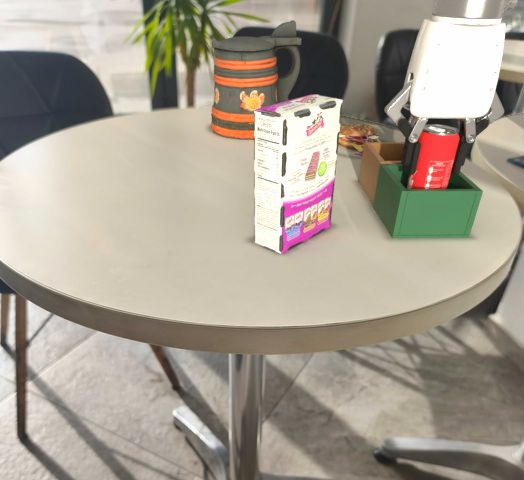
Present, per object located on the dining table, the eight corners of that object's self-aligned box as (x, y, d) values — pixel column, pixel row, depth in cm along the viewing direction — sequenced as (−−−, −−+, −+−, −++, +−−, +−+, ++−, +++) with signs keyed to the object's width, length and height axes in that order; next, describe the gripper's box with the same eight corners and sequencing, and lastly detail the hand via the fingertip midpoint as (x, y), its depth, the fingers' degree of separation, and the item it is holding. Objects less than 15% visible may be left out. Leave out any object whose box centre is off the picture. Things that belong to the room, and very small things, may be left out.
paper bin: (416, 184, 83) (426, 142, 79) (437, 207, 76) (449, 162, 71) (358, 184, 83) (364, 141, 79) (372, 208, 75) (380, 162, 71)
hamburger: (309, 147, 98) (311, 115, 95) (352, 135, 106) (356, 105, 102) (365, 165, 91) (371, 130, 87) (408, 151, 98) (415, 118, 95)
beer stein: (280, 118, 116) (284, 16, 104) (308, 135, 106) (317, 23, 93) (202, 124, 110) (197, 16, 98) (224, 142, 100) (222, 24, 87)
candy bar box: (302, 218, 71) (312, 92, 61) (331, 228, 69) (346, 99, 59) (250, 243, 64) (252, 106, 54) (280, 256, 62) (287, 115, 52)
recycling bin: (440, 209, 75) (452, 163, 71) (468, 240, 67) (483, 191, 63) (372, 209, 74) (380, 163, 70) (391, 241, 66) (401, 191, 62)
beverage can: (424, 229, 67) (446, 137, 60) (393, 217, 70) (411, 127, 63) (445, 219, 70) (469, 130, 63) (414, 208, 73) (434, 121, 66)
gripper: (526, 5, 58) (480, 162, 69) (384, 2, 57) (361, 162, 68) (560, 10, 52) (504, 181, 64) (403, 7, 51) (374, 181, 62)
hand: (430, 169), depth 66 cm, fingers closed on beverage can, 5 cm apart
